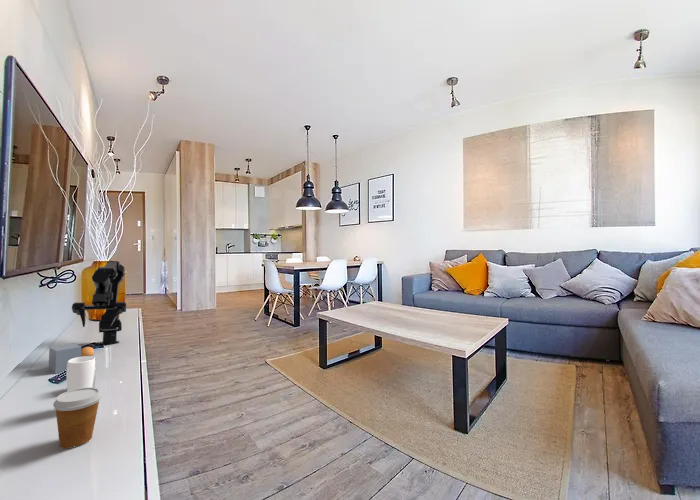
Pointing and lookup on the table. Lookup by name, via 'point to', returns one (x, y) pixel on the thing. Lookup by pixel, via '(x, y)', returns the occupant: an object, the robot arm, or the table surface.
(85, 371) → the white paper cup
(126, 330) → the table surface
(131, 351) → the table surface
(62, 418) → the disposable coffee cup
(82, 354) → the ball
